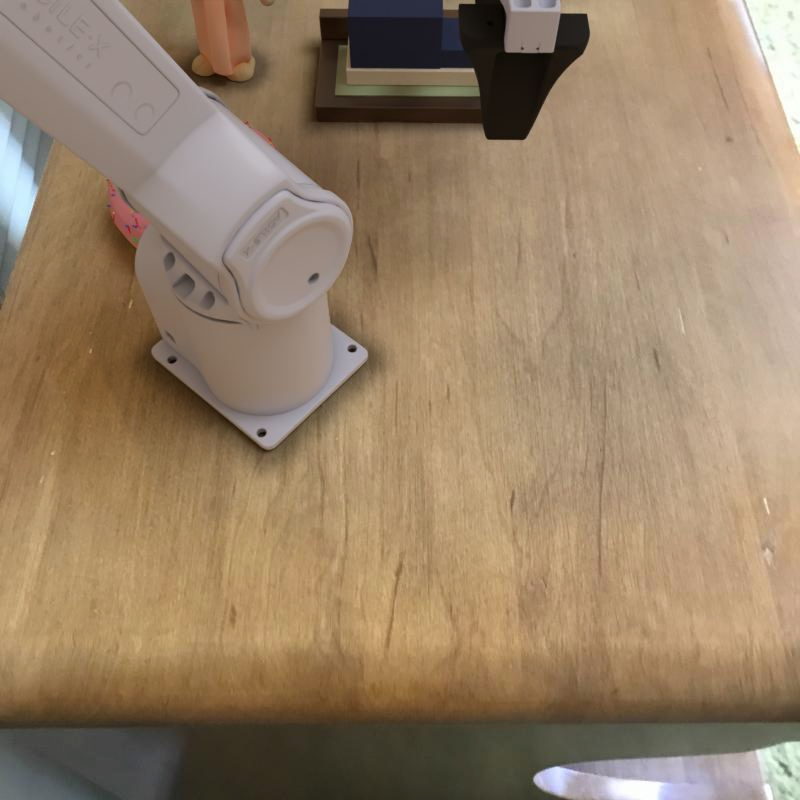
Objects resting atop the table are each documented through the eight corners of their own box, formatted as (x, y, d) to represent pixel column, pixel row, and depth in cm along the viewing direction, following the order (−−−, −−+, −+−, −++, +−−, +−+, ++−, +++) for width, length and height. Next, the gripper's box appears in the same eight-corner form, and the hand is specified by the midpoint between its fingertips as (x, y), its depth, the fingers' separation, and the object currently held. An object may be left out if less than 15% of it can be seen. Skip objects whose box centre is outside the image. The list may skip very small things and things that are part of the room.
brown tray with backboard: (316, 121, 56) (311, 84, 54) (323, 45, 60) (319, 7, 58) (508, 123, 56) (513, 86, 54) (502, 47, 60) (506, 9, 58)
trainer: (346, 85, 56) (342, 18, 52) (349, 47, 58) (345, -20, 54) (480, 86, 56) (486, 19, 52) (477, 48, 58) (484, -19, 54)
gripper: (670, -105, 29) (591, 184, 40) (618, -289, 36) (565, 1, 48) (465, -107, 29) (446, 183, 40) (456, -290, 36) (442, 0, 48)
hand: (501, 84), depth 44 cm, fingers open, 7 cm apart
